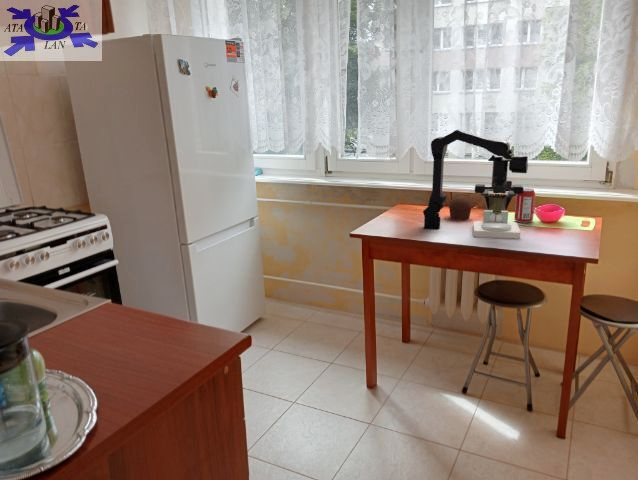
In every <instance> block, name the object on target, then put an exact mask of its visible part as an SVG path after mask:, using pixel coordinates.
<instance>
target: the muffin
mask: <svg viewBox="0 0 638 480" xmlns="http://www.w3.org/2000/svg"><path fill="white" fill-rule="evenodd" d="M447 206H448V209H449V217H450V219H452V220H453V219H454V220H455V221H467V220H470V216H471V211H472V208H473V206H474V204H473V202H471V200H470V199H469V198H467V197H465V196H456V197H453V198H452V199H451V200H450V201H449V202H448V203H447ZM466 219H467V220H466ZM454 220H453V221H454Z"/></svg>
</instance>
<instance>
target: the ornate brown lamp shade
mask: <svg viewBox="0 0 638 480" xmlns="http://www.w3.org/2000/svg"><path fill="white" fill-rule="evenodd" d="M494 194H495V195H494ZM507 197H508V196H507V194H506V193H504V194H502V193H492V194H489V206H490V209H491V210H493V211H492V213H493V214H495V215H500V214H501V213H502V212H501V211H505V206H506V202H507Z"/></svg>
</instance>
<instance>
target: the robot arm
mask: <svg viewBox="0 0 638 480" xmlns="http://www.w3.org/2000/svg"><path fill="white" fill-rule="evenodd" d="M456 141H460V142H464V143H466V144H469V145H473V146H476V147H479V148H482V149H485V150H486V151H487V152H490V153H491V154H492V155H491V156H490V158H489V159H487V161H488V162H492V173H491V186H486V184H484V183H483V184H481V183H479V184H475V185H474V194H480V195H481V196H483V197H484V200H486V203H487V207H488V209H489V195H490V194H489V192H493V193H492V194H502V195H504V194H506V192H507V194H506V195H507V196H508V197H507V202H506V206H505V208H504V211H507V209H508V207H509V205H510V202H511V201H512V199H513V198H514V197H516V194H523V191H524V188H525V187H524V186H523V185H522V184H513V181H512V180H508V170H509V171H510V172H511V173H513V174H527V173H528V168H529V163H528V162H529V161H528V159H529V158H528V155H519V156H518V155H515V154H514V153H513V152H512V150H511V145H510V142H508V140H507V141H506V140H502V139H493V138H492V139H491V138H487V137H484V136H483V137H482V136H480V135H477V134H474V133H470V132H467V131H463V130H462V129H456V130H453V131H452V132H451V133H449V134H447V135H445V136H439V137H435V138H434V139H433V140H432V141H431V142H430V151H431V155H432V157H433V165H432V166H433V168H432V185H431V186H432V189H431V193H430V194H431V195H430V197H429V200H428V206H427V207H426V208H425V209H423V211H422V212H423V213H422V214H423V216H424V219H423V220H424V221H423V223H424V224H423V229H425V230H426V229H427V230H439V228H440V227H441V216H440V212H441V210H442V209H443V208H444V207H445V205H446V204H447V194H444V192H443V187H444V185H443V183H444V181H443V180H444V164H445V161H444V160H445V156H446V153H447V150H448V146H449V145H450V144H452V143H454V142H456Z"/></svg>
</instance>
